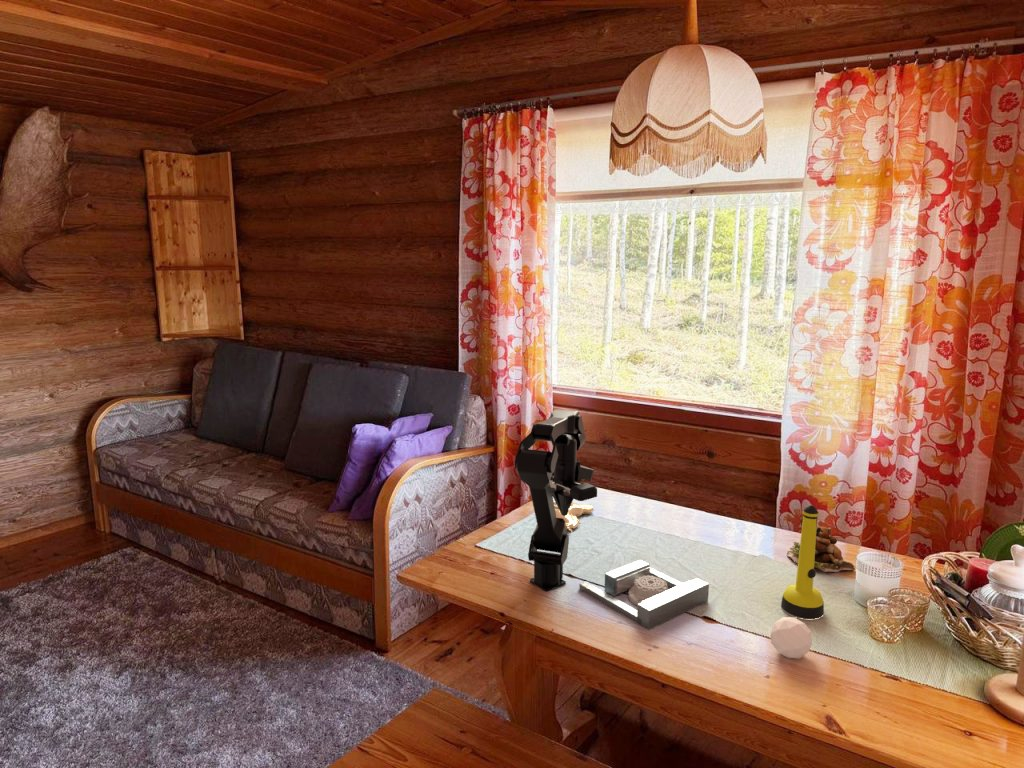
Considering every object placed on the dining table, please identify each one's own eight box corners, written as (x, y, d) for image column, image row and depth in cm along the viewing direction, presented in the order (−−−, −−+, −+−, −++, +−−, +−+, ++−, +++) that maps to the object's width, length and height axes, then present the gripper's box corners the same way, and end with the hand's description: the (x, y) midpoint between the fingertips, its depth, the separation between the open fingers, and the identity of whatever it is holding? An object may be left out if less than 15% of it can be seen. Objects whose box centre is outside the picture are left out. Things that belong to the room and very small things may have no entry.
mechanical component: (675, 611, 153) (667, 589, 162) (676, 592, 152) (668, 572, 162) (631, 610, 153) (626, 588, 163) (632, 592, 152) (626, 571, 162)
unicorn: (572, 491, 217) (614, 509, 205) (571, 502, 218) (612, 521, 206) (527, 506, 204) (569, 526, 192) (526, 518, 204) (568, 539, 192)
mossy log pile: (821, 579, 167) (825, 533, 165) (777, 554, 181) (781, 511, 179) (862, 570, 172) (867, 525, 170) (817, 546, 186) (821, 504, 183)
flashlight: (780, 501, 150) (812, 515, 142) (810, 495, 154) (843, 509, 145) (772, 604, 155) (802, 624, 147) (801, 596, 158) (832, 615, 150)
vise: (648, 629, 145) (649, 610, 144) (579, 589, 162) (579, 572, 161) (707, 601, 156) (709, 583, 155) (637, 566, 174) (638, 550, 173)
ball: (777, 662, 138) (762, 622, 141) (817, 652, 136) (800, 611, 139) (780, 664, 131) (764, 622, 134) (822, 653, 129) (804, 611, 133)
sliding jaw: (615, 597, 158) (615, 579, 157) (604, 591, 161) (605, 573, 160) (650, 582, 165) (651, 564, 164) (639, 576, 168) (640, 559, 167)
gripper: (613, 461, 170) (612, 519, 173) (565, 444, 185) (564, 498, 188) (580, 469, 164) (579, 529, 167) (533, 451, 179) (532, 507, 182)
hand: (564, 515), depth 176 cm, fingers closed
